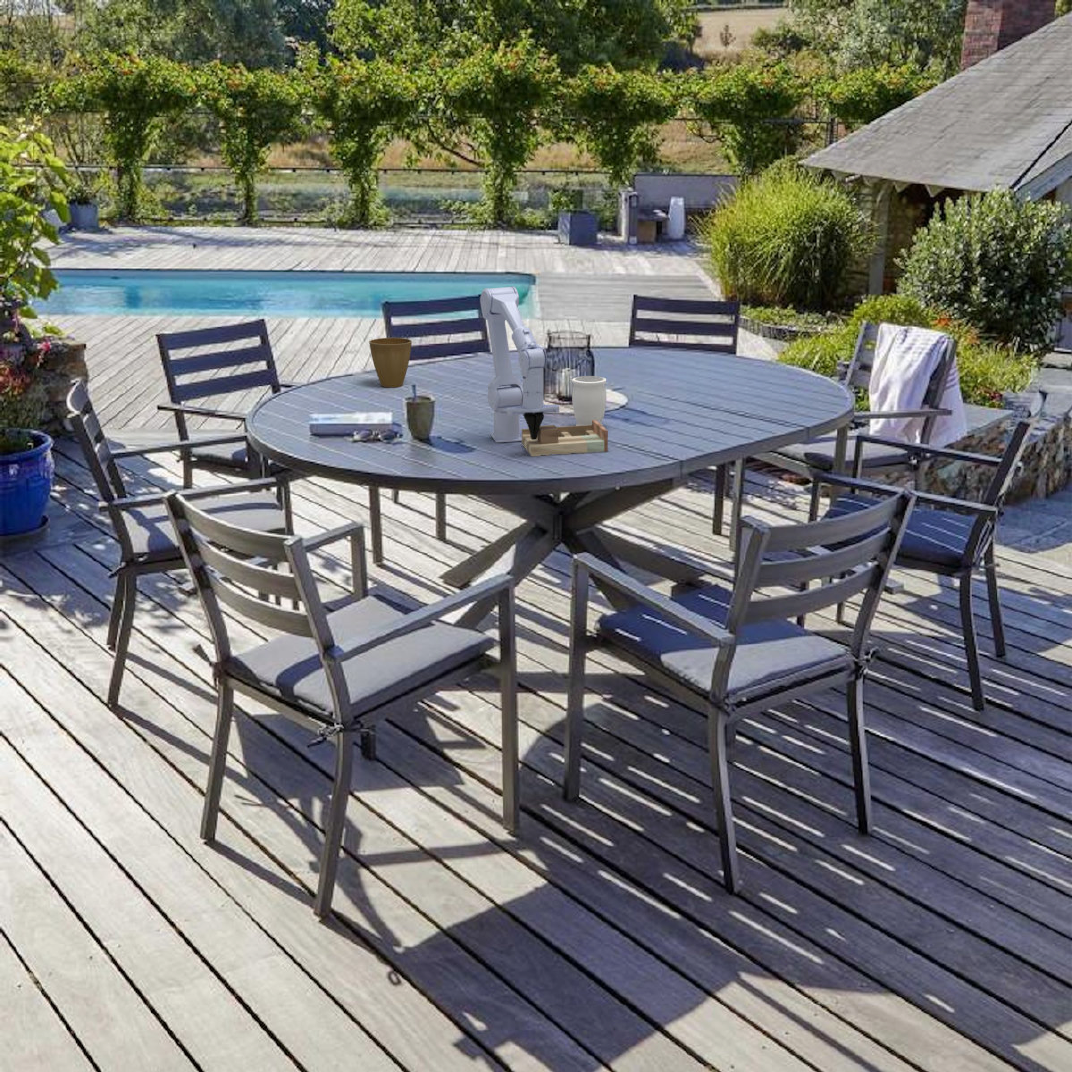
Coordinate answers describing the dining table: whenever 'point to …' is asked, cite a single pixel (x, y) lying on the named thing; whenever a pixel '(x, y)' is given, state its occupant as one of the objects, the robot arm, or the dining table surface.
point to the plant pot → (391, 359)
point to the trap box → (570, 440)
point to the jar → (589, 399)
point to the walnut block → (547, 434)
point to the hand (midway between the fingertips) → (533, 438)
